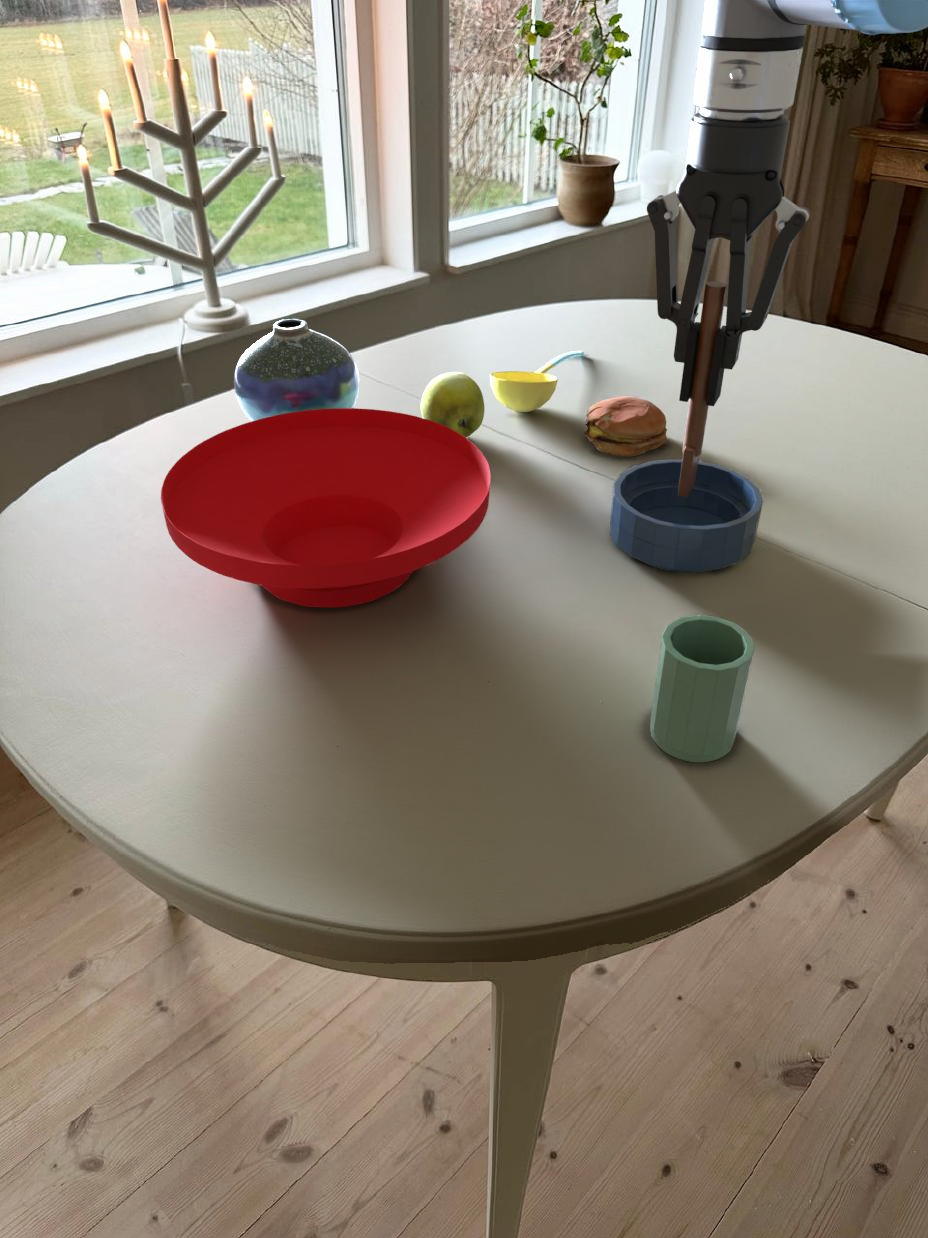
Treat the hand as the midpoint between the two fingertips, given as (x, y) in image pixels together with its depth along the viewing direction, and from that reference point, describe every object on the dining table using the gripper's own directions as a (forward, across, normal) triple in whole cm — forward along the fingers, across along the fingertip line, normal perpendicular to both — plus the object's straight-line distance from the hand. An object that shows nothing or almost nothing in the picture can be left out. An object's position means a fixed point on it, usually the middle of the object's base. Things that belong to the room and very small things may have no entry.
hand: (699, 397), depth 86 cm
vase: (+16, -51, +8) cm, 54 cm away
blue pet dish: (+15, 0, 0) cm, 15 cm away
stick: (+10, 0, 0) cm, 10 cm away
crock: (+15, +8, -28) cm, 33 cm away
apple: (+16, -32, +13) cm, 38 cm away
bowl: (+16, -30, -18) cm, 38 cm away
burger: (+16, -12, +20) cm, 28 cm away
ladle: (+16, -27, +33) cm, 45 cm away
